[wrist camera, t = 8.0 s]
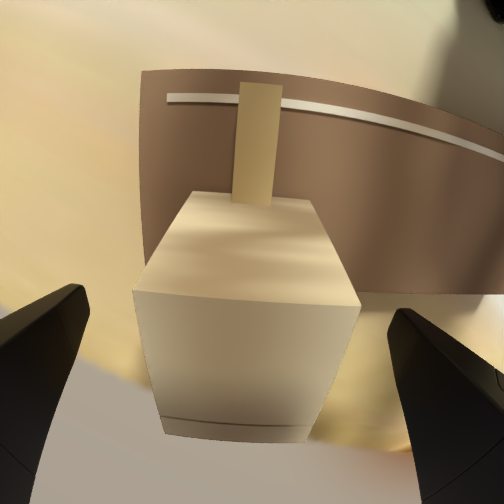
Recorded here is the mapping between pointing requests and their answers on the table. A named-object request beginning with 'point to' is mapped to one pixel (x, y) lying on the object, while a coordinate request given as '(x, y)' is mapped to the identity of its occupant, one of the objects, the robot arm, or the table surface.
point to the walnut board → (339, 174)
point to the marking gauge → (245, 301)
